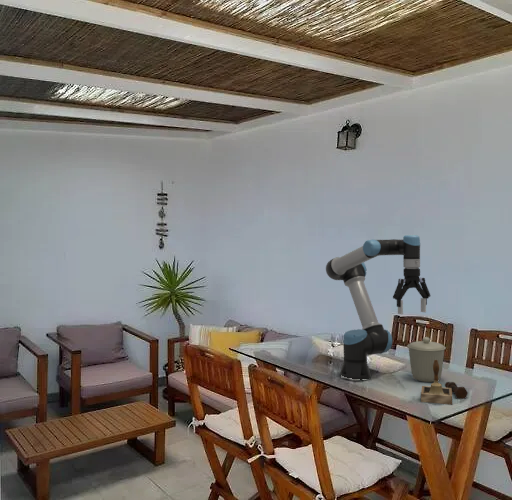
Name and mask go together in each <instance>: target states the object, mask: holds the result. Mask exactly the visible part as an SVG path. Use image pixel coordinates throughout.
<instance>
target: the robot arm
mask: <svg viewBox="0 0 512 500" xmlns="http://www.w3.org/2000/svg"><path fill="white" fill-rule="evenodd" d="M378 256H403V261H402V262H403V277H404V278H398V281H397V282H398V283H397V286H396V287H395V290H394V293H393V295H392V299H394V300H396V307H397V314H398V315H403V314H404V306H403V305H404V300H403V297H404V296H405V294H406V293H407V291H408V290H409V289H413V288H414V289H416V291H417V292H418V294H419V295H420V313H427V304H428V299H429V298H430V297H431V293H430V290H429V288H428V286H427V283H426V278H425V277H420V276H421V269H420V267H421V239H420V236H419V235H417V234H416V235H413V234H412V235H411V234H410V235H409V234H408V235H403V239H395V238H394V239H392V238H391V239H367V240H365V241H364V243H363V245H361V246H359V247H358V248H356V249H354V250H352V251H350V252H348V253H346V254H345V255H342V256H340V257H339V256H337V257H336V256H335V257H334V258H332V259H330V260H329V261H328V262H327V263H326V265H325V272H326V274H327V276H328V277H329V278H330V279H332V280H334V281H343V283H344V286H346V287H347V288H348V289H349V292H350V295H351V298H352V300H353V304H354V307H355V310H356V313H357V315H358V318H359V321H360V324H361V327H362V329H359V328H358V329H351V330H348V331H345V333H344V334H343V339H342V342H343V363H342V365H341V369H340V371H339V375H340V374H341V375H342V376H344V377H347V378H352V379H360V380H362V379H369V378H370V379H371V377H372V376H371V374H372V373H371V371H370V367H369V365H368V356H370V355H378V354H384V353H387V352H389V351H390V350H391V348H392V344H393V336H392V334H391V332H390V330H388V329H385V328H384V326H383V324H382V323H380V322H379V320H378V317H377V315H376V313H375V310H374V307H373V304H372V301H371V298H370V296H369V292H368V290H367V288H366V287H367V286H366V284H365V280H366V275H367V265H366V264H365V262H367V261H369V260H371V259H374V258H376V257H378ZM370 379H369V380H370Z"/></svg>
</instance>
